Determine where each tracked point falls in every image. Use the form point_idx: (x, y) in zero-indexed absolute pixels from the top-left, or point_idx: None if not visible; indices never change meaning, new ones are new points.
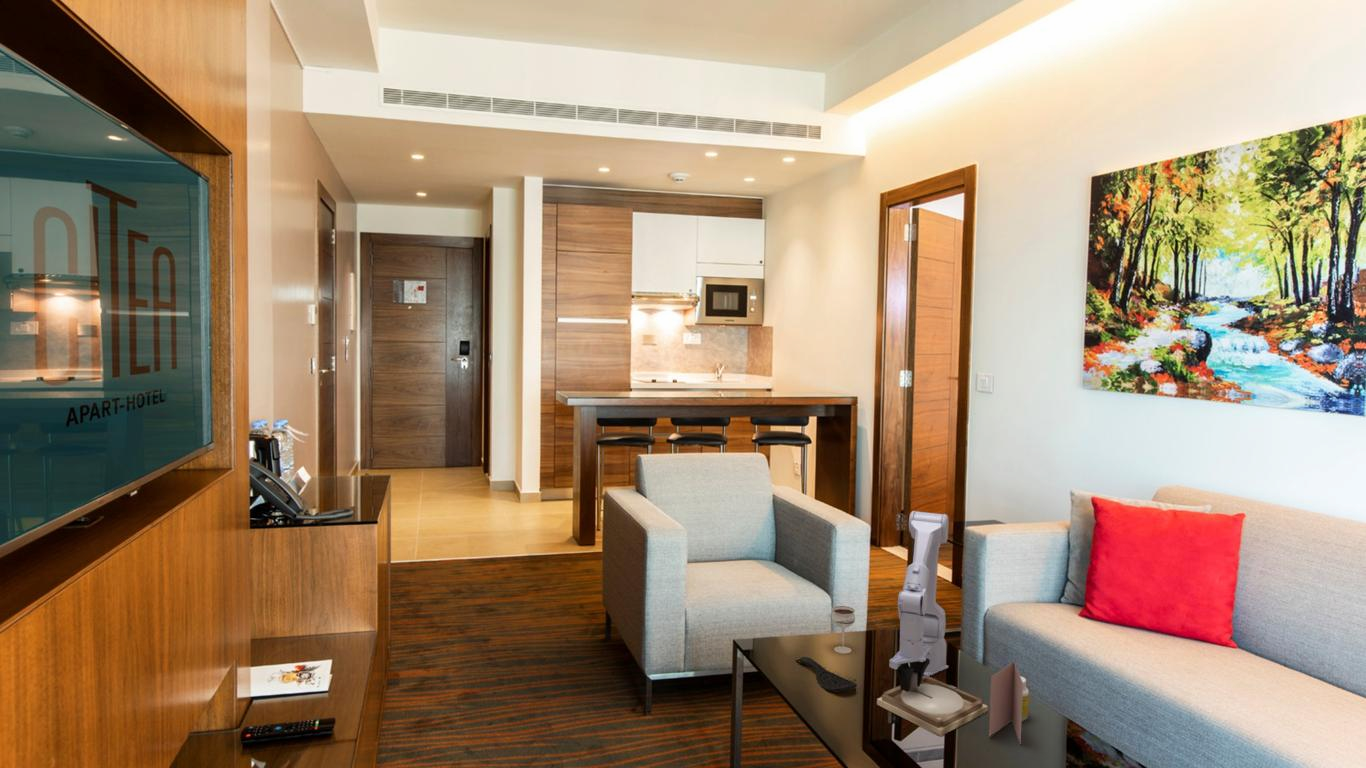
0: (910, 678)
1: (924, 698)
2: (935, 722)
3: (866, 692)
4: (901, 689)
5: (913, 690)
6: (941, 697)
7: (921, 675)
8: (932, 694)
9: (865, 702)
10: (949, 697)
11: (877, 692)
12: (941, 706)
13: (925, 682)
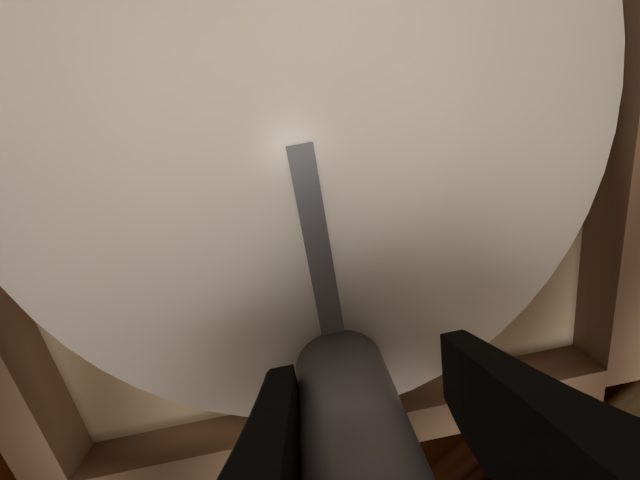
0: (581, 433)
1: (374, 180)
2: None
3: None
4: (413, 401)
5: (364, 339)
6: (181, 105)
7: (269, 468)
8: (233, 208)
9: (606, 394)
10: (82, 49)
11: (454, 457)
12: None
13: (99, 438)
